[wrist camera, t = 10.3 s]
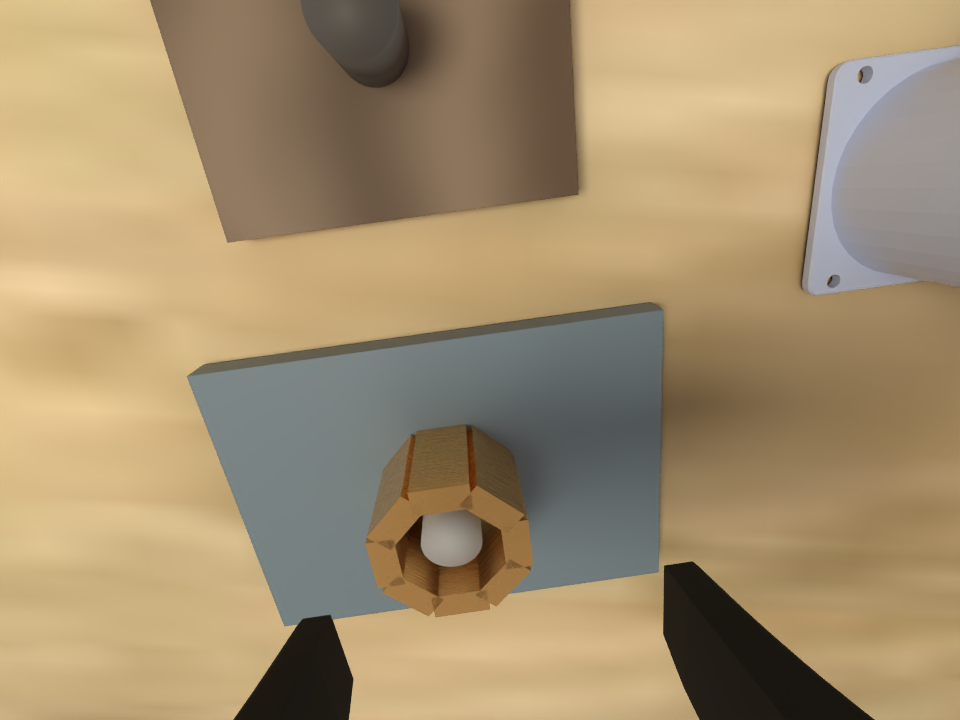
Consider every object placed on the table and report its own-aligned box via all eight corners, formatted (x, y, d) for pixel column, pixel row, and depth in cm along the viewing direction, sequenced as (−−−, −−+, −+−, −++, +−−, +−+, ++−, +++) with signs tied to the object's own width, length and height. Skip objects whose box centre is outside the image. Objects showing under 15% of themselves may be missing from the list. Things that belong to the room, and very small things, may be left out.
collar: (508, 417, 18) (522, 476, 15) (521, 526, 20) (537, 602, 17) (373, 436, 18) (353, 501, 15) (399, 543, 20) (387, 624, 16)
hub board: (650, 302, 18) (709, 336, 14) (648, 553, 23) (692, 635, 19) (203, 364, 18) (127, 418, 14) (292, 604, 23) (256, 699, 18)
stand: (550, -175, 13) (597, -348, 9) (569, 194, 17) (609, 195, 12) (132, -120, 13) (-22, -270, 9) (242, 238, 16) (170, 255, 12)
